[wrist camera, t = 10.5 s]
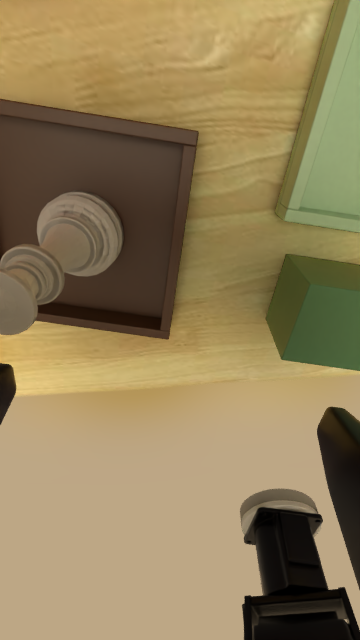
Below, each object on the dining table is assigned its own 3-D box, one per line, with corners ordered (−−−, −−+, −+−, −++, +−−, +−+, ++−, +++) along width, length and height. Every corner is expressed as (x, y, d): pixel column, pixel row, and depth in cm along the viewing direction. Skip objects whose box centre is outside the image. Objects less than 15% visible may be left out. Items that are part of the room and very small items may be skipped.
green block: (331, 328, 21) (362, 371, 17) (265, 318, 21) (281, 360, 17) (360, 264, 19) (403, 298, 15) (286, 253, 18) (310, 283, 14)
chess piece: (60, 270, 19) (-56, 380, 10) (36, 194, 17) (-134, 250, 8) (130, 265, 19) (73, 374, 10) (116, 186, 16) (26, 236, 8)
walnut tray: (171, 322, 21) (168, 340, 19) (5, 298, 21) (-13, 314, 19) (198, 132, 16) (198, 131, 14) (-28, 95, 15) (-58, 89, 13)
